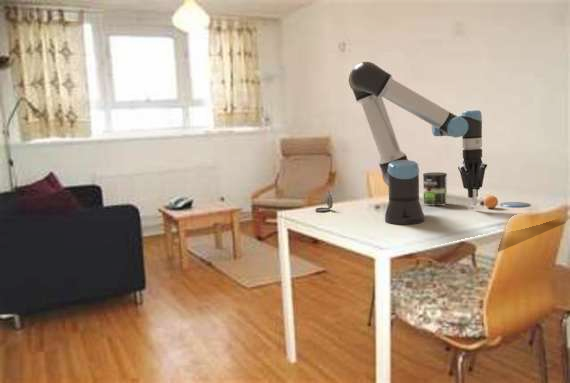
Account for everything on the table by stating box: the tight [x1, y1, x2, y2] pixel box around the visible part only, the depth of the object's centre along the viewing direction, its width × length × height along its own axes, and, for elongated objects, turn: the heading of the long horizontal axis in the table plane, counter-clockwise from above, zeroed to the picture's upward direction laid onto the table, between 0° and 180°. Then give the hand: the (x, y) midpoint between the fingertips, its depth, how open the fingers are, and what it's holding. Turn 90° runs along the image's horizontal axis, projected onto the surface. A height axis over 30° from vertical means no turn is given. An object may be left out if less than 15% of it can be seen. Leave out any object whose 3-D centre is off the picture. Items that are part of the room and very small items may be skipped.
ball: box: [483, 194, 499, 209], centre depth 207 cm, size 6×6×6 cm
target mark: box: [499, 201, 532, 208], centre depth 211 cm, size 12×12×1 cm
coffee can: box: [422, 171, 448, 206], centre depth 223 cm, size 10×10×14 cm
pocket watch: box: [314, 189, 334, 213], centre depth 224 cm, size 8×8×10 cm
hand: (473, 204), depth 204 cm, fingers closed
